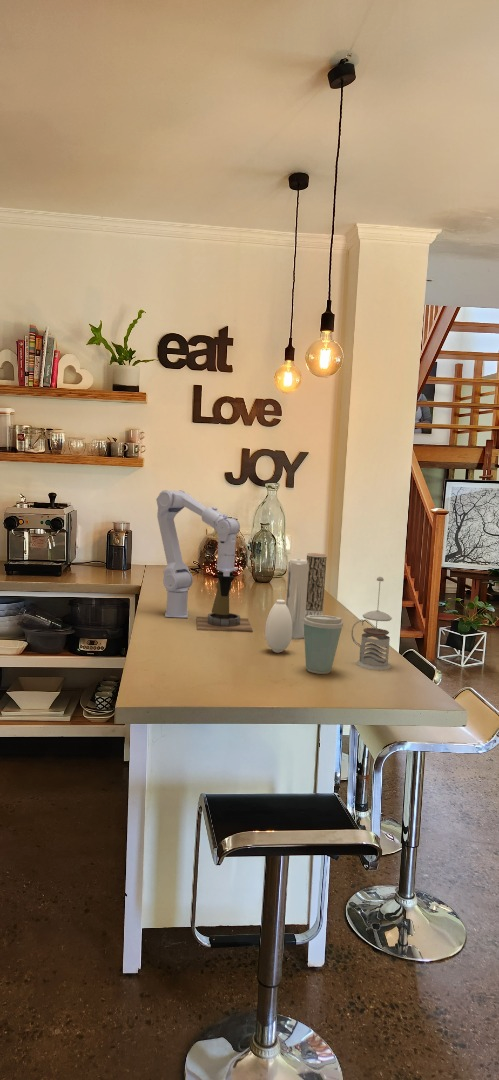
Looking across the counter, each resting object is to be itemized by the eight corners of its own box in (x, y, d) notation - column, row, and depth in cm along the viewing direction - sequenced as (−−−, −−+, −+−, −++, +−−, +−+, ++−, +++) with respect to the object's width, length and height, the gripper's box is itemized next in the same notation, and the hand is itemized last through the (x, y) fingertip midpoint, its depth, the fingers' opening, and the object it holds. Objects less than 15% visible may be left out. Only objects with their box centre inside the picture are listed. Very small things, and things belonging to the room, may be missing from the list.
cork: (208, 610, 231) (212, 578, 230) (223, 611, 234) (227, 579, 233) (217, 614, 226) (221, 581, 225) (232, 615, 229) (237, 582, 228)
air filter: (304, 639, 217) (309, 561, 215) (284, 638, 217) (289, 560, 215) (303, 634, 223) (308, 558, 221) (283, 633, 224) (288, 557, 221)
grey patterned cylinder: (299, 623, 240) (304, 552, 238) (317, 623, 242) (322, 553, 240) (306, 628, 234) (311, 555, 231) (324, 627, 236) (330, 555, 233)
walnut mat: (196, 618, 239) (196, 616, 239) (247, 620, 241) (247, 618, 241) (197, 630, 221) (197, 628, 221) (252, 632, 223) (252, 630, 223)
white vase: (295, 654, 198) (299, 593, 196) (270, 656, 195) (274, 593, 193) (284, 648, 205) (287, 588, 203) (259, 649, 202) (263, 588, 200)
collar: (207, 619, 236) (207, 611, 236) (238, 620, 237) (238, 613, 237) (208, 626, 225) (208, 618, 225) (240, 627, 226) (241, 619, 226)
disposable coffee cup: (293, 666, 186) (296, 611, 184) (328, 664, 190) (332, 611, 188) (310, 677, 176) (314, 620, 174) (347, 675, 180) (351, 619, 178)
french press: (391, 671, 186) (398, 580, 184) (348, 666, 188) (355, 576, 186) (391, 662, 196) (398, 575, 193) (350, 657, 198) (356, 572, 196)
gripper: (239, 557, 222) (237, 599, 223) (236, 552, 236) (234, 591, 237) (218, 556, 221) (215, 598, 222) (216, 551, 235) (214, 590, 237)
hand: (224, 594), depth 230 cm, fingers closed on cork, 5 cm apart
